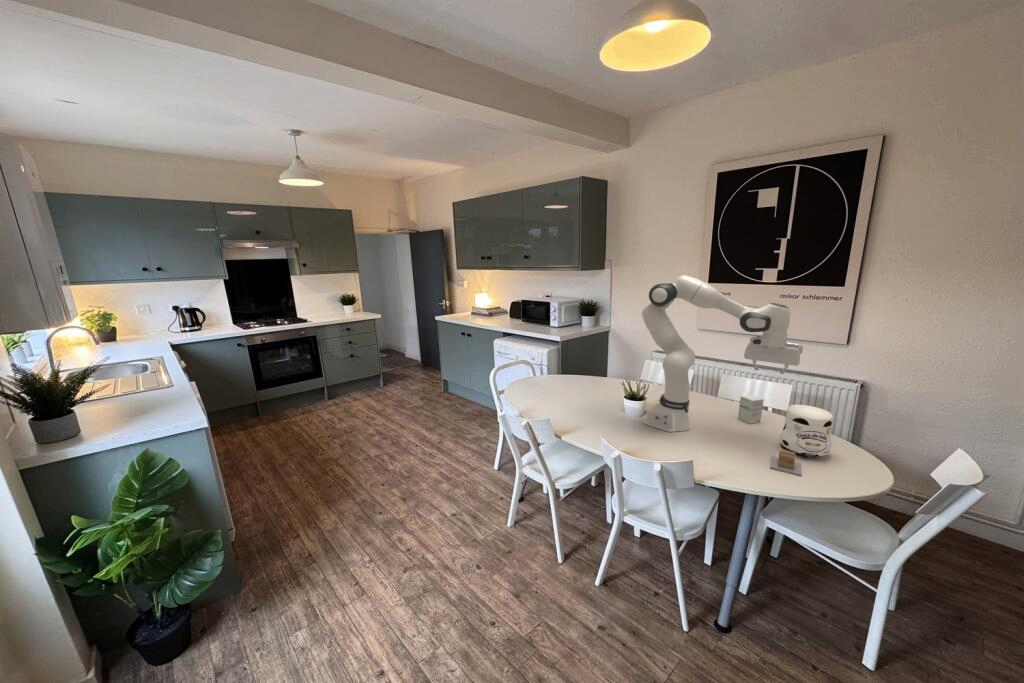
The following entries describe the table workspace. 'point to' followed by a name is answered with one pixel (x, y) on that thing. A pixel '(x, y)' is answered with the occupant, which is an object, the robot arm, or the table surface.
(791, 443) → the milk container
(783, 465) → the walnut cube
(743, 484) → the table surface
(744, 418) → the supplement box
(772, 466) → the coaster
